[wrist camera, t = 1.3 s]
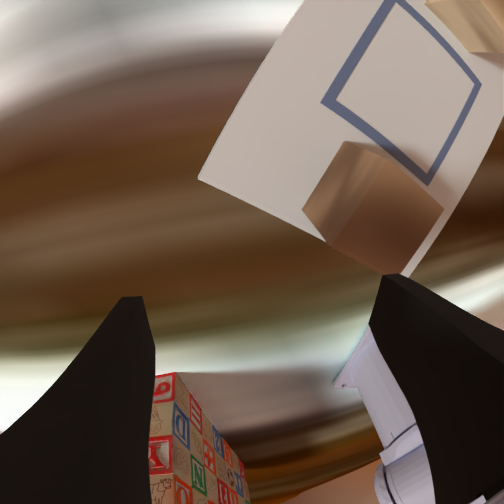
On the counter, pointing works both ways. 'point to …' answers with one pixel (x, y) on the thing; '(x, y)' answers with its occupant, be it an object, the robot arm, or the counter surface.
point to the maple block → (473, 22)
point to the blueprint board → (360, 107)
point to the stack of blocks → (189, 452)
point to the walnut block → (371, 210)
